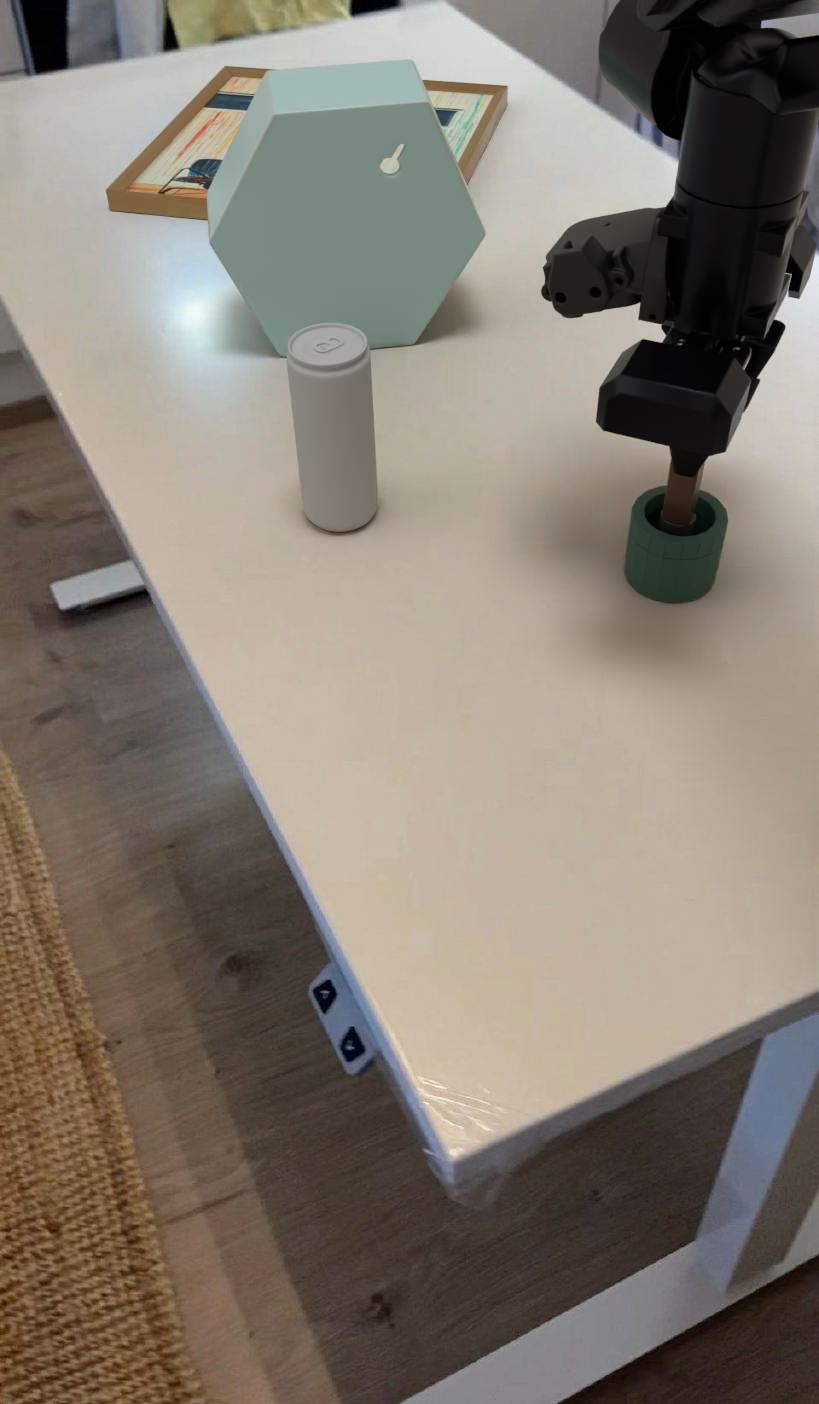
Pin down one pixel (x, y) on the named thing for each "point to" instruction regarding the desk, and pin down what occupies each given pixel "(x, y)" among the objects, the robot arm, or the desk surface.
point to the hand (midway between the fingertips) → (689, 464)
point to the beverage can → (334, 424)
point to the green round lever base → (674, 549)
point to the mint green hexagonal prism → (342, 204)
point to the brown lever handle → (680, 503)
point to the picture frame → (205, 128)
